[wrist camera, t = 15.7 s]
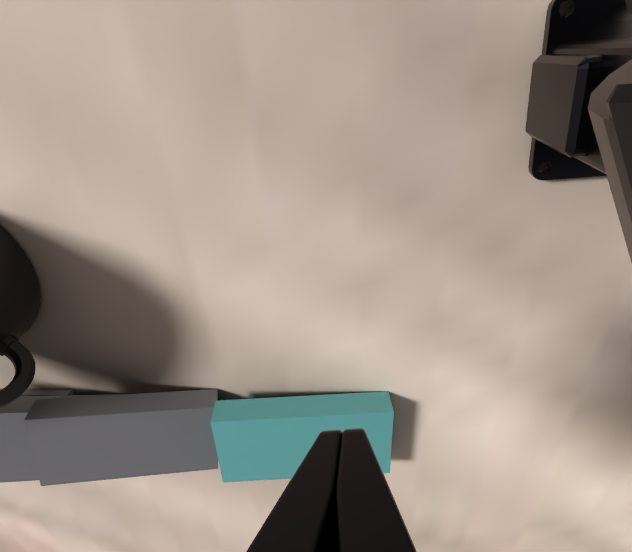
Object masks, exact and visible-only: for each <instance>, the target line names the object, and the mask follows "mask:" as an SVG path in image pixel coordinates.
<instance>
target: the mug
mask: <svg viewBox="0 0 632 552" xmlns="http://www.w3.org/2000/svg"><path fill="white" fill-rule="evenodd" d="M39 306H40V291H39V285H38V281H37V278H36V274H35V272H34V270H33V268H32V266H31V264H30V262H29V260H28V258H27V257H26V255H25V254H24V252H23V250H22V249H21V248H20V247H19V245H18V244H17V243H16V242H15V240H14V239H13V238H12V237H11V236H10V235H9V234H8V233H7V232H6V231H5V230H4V229H3V228H2V227H1V226H0V355H1V356H3V355H5V356H6V357H8V358H9V359H10V360H11V362H12V363H13V365H14V367H15V376H14V378H13V380H12V381H11V382H10V384H9V385H7V386H6V387H5V388H3V389H2V390H0V408H2V407H4V406H6V405H8V404H10V403H11V402H13V401H14V400H16V399H17V398H19V397H20V396H21V395H22V394H23V393H24V392H25V391H26V389H27V388H28V387H29V385H30V384H31V382H32V380H33V378H34V375H35V361H34V359H33V356H32V354H31V353H30V351H29V350H28V349H27V348H26V347H25V346H23V345H22V344H21V343H20V342H19V339H18V338H19V337H20V336H22V335H23V334H24V333H25V332H26V331H27V330H28V329H29V328H30V327H31V326H32V324H33V322H34V320H35V319H36V316H37V313H38V310H39Z"/></svg>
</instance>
